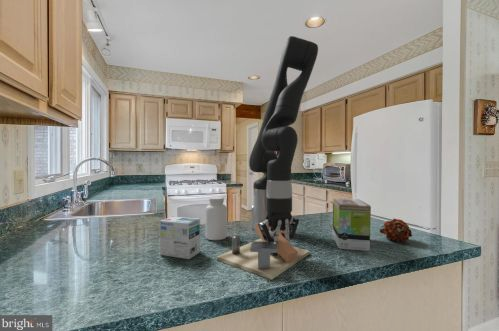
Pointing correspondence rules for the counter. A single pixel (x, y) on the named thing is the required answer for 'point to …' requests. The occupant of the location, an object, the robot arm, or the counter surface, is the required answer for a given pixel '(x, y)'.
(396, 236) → the pine cone
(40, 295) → the counter surface
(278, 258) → the board
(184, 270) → the counter surface
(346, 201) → the tea box
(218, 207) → the pill bottle
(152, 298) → the counter surface
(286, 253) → the link
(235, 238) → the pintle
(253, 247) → the block
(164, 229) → the light bulb box
